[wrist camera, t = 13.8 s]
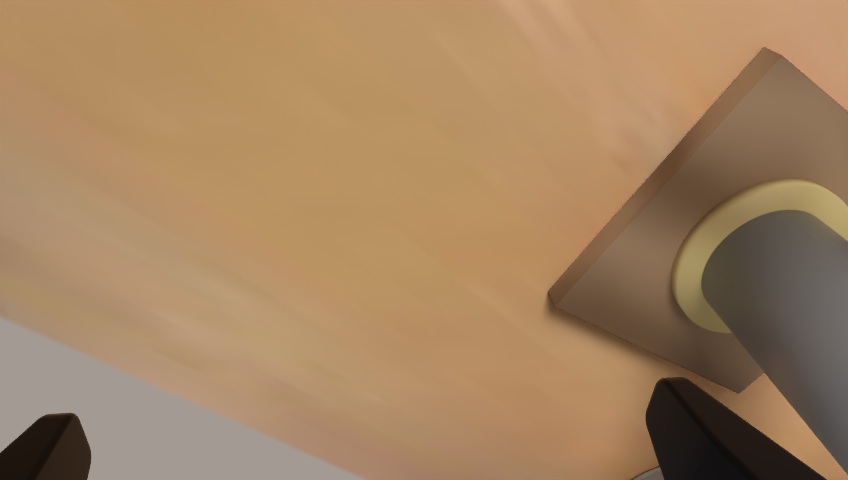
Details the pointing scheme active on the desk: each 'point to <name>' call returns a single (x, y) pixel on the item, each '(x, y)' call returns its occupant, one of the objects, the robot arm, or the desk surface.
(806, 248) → the grey cylinder
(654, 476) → the thermos bottle
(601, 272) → the plate
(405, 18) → the desk surface
